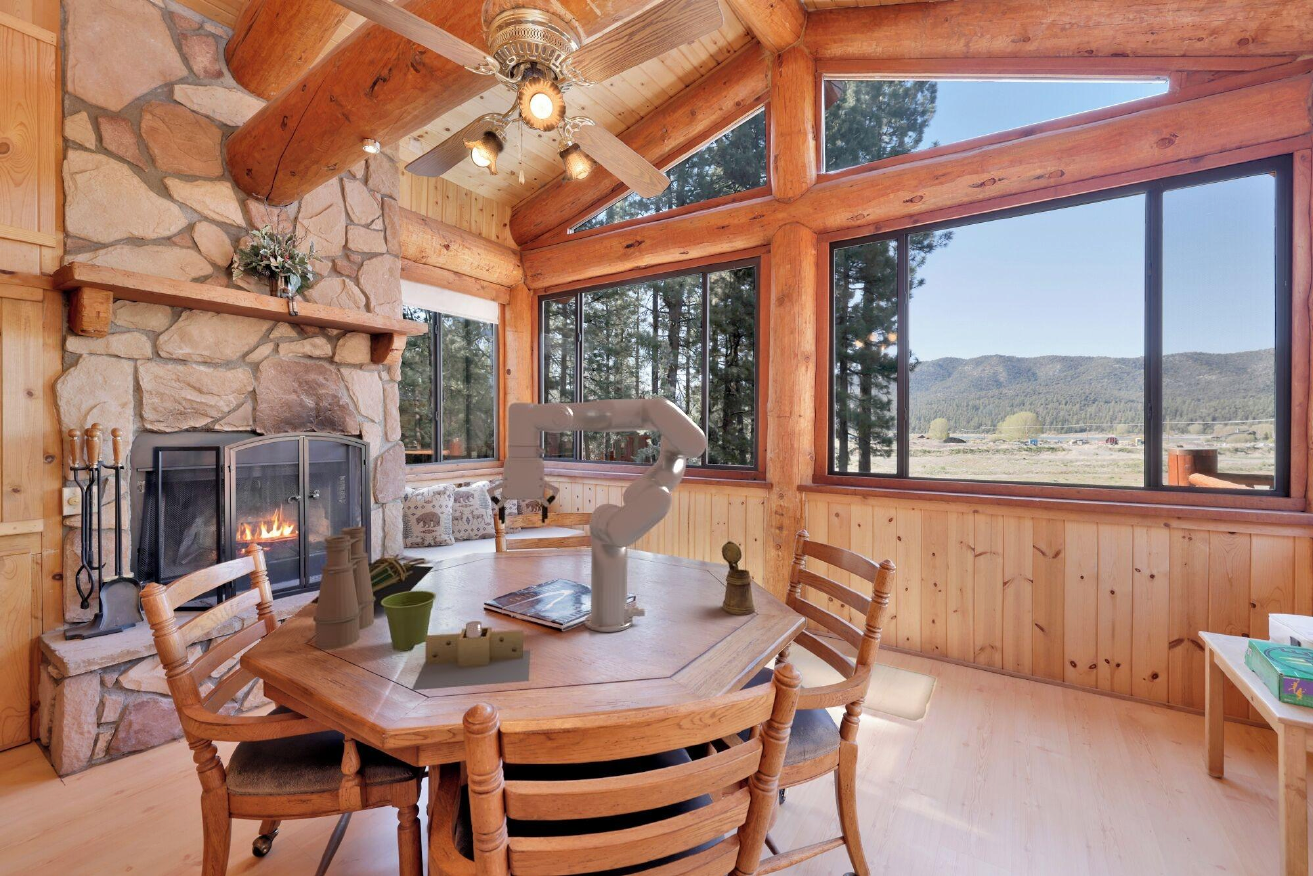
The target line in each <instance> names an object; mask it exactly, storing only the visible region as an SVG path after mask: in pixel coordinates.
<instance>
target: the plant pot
mask: <svg viewBox="0 0 1313 876" xmlns="http://www.w3.org/2000/svg"><path fill="white" fill-rule="evenodd" d="M436 598H437V595H436V593H435V592H432V591H428V590H411V591H408V592H402V593H398V594H394V595H391V596H388V597H386V598H384V599H383V600H382V601H381V605H382V606H384V607H383V609H384V613H385V616H386V620H387V623H388V629H389V635H390V639H391V645H392V648H393V649H394V650H396V651H399V652H405V651H407V650H412V651H413V650H414V649H415V647H416V646H417V645H420V644H422V643H426V635H429V634H428V632H429V626H430V619H431V614H432V613H431V612H432V609H433V605H434V601H435V600H436Z"/></svg>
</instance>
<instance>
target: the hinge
mask: <svg viewBox="0 0 1313 876" xmlns="http://www.w3.org/2000/svg"><path fill="white" fill-rule="evenodd" d="M492 627H493V626H487V627H486V626H485V627H482V637H473V638H466V628H462V629H461V631H460V633H446V634H444V633H443V634H427V635H426V642H425V661H426V665H430V664H444V663H458V668H463V667H477V666H489V663H490V660H500V659H514V658H523V651H524V629H511V630H495V631H493V630H492Z"/></svg>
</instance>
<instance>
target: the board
mask: <svg viewBox="0 0 1313 876" xmlns="http://www.w3.org/2000/svg"><path fill="white" fill-rule="evenodd" d="M530 653H531V649H527V650H525V649H524V650H523V658H514V659H500V660H490V663H489V666H477V667H463V668H458V663H444V664H430V665H426V660H425V661H424V663H423V665H422V667H421V669H420V672H419V674H418V676H417V678H416V680H415V682H414V684H413V687H412V688H411V691H420V690H430V689H431V690H432V689H442V688H444V689H445V688H455V687H468V686H469V687H470V686H480V685H481V686H482V685H493V684H505V683H506V684H507V683H518V682H519V683H520V682H529V680H530V660H531V659H530V658H531V654H530Z"/></svg>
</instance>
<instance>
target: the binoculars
mask: <svg viewBox="0 0 1313 876" xmlns="http://www.w3.org/2000/svg"><path fill="white" fill-rule="evenodd" d="M341 531H342V533H343V534H338V535H329V536H326V537H324V542H325V543H326V545H325V546H324V547H323V549H324V551H326V564H325V565H323V566H322V567H321V570H320V571H321V579H320V585H319V592H318V596H319V598H318V603H317V605H316V612H315V615H314V616H313V619H312V621H314V623H315V641H314V645H315V648H318V649H323V650H332V649H333V650H334V649H335V650H336V649H339V648H343V647H344V648H345V647H348V646H351V645H353V644H355V643H357V642H358V641H359V640H360V630H364V629H367V628H369V627H371V626H373V624H375V622H374V621H375V618H374V613H375V612H374V611H375V610H374V601H375V599H376V598H375V597H374V596H373V591H372V585H371V579H370V572H369V566H368V563H369V561H368V557H369V554H368V553H367V552H364V540H366V537H367V535H365V534H364V532H365V531H366V527H365V526H350V527H349V526H348V527H343V528H342V529H341Z"/></svg>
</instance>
